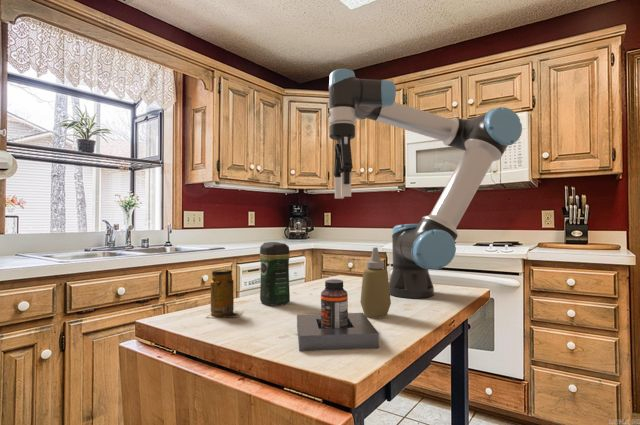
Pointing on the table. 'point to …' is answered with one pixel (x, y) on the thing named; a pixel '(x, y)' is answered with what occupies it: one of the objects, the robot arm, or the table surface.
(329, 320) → the supplement bottle
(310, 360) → the table surface
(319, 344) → the socket block
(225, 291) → the condiment
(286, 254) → the coffee jar
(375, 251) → the squeeze bottle
